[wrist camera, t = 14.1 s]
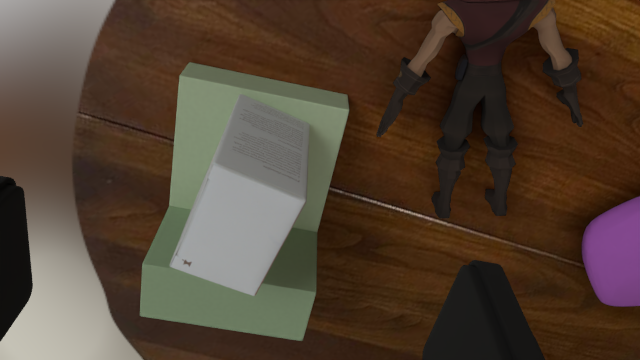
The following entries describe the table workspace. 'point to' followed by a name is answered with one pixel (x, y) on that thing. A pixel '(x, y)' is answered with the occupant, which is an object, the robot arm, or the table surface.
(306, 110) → the green l-shaped step
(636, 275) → the blob
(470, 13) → the figurine
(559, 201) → the table surface
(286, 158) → the small box
